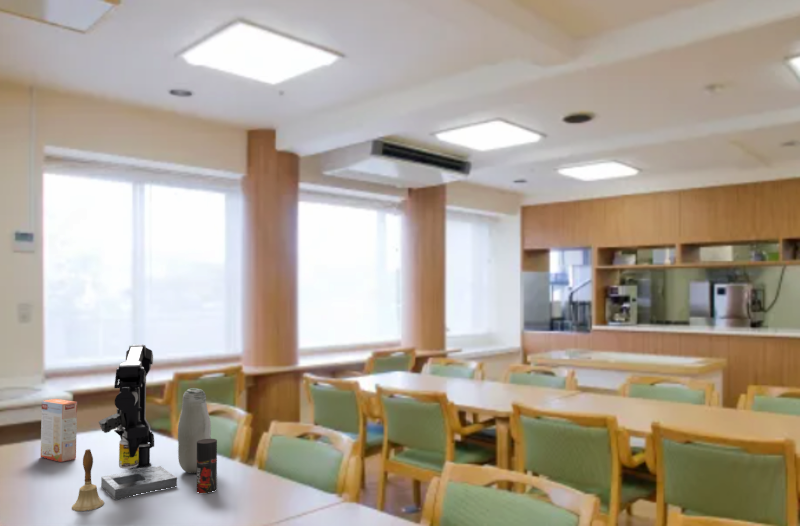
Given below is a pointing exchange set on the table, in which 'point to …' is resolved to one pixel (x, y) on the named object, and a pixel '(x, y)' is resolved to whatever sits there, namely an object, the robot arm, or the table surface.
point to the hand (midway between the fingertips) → (129, 455)
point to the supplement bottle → (127, 455)
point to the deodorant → (206, 465)
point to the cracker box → (58, 430)
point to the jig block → (138, 482)
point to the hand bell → (88, 488)
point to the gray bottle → (192, 428)
